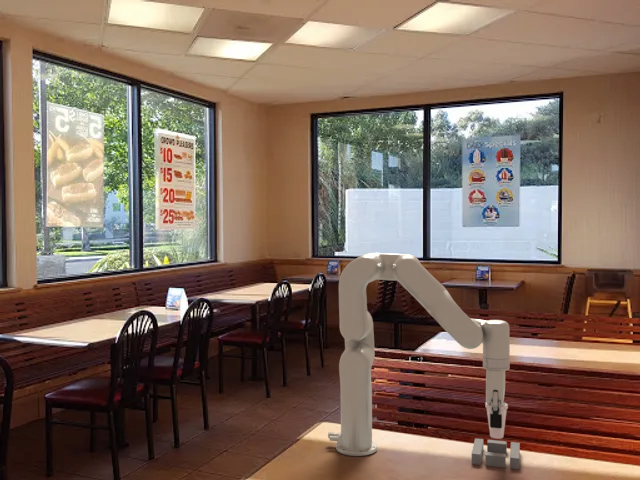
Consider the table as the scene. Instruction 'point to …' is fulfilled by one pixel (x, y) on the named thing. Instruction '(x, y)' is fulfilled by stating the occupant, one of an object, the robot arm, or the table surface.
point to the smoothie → (499, 432)
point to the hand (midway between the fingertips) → (496, 423)
